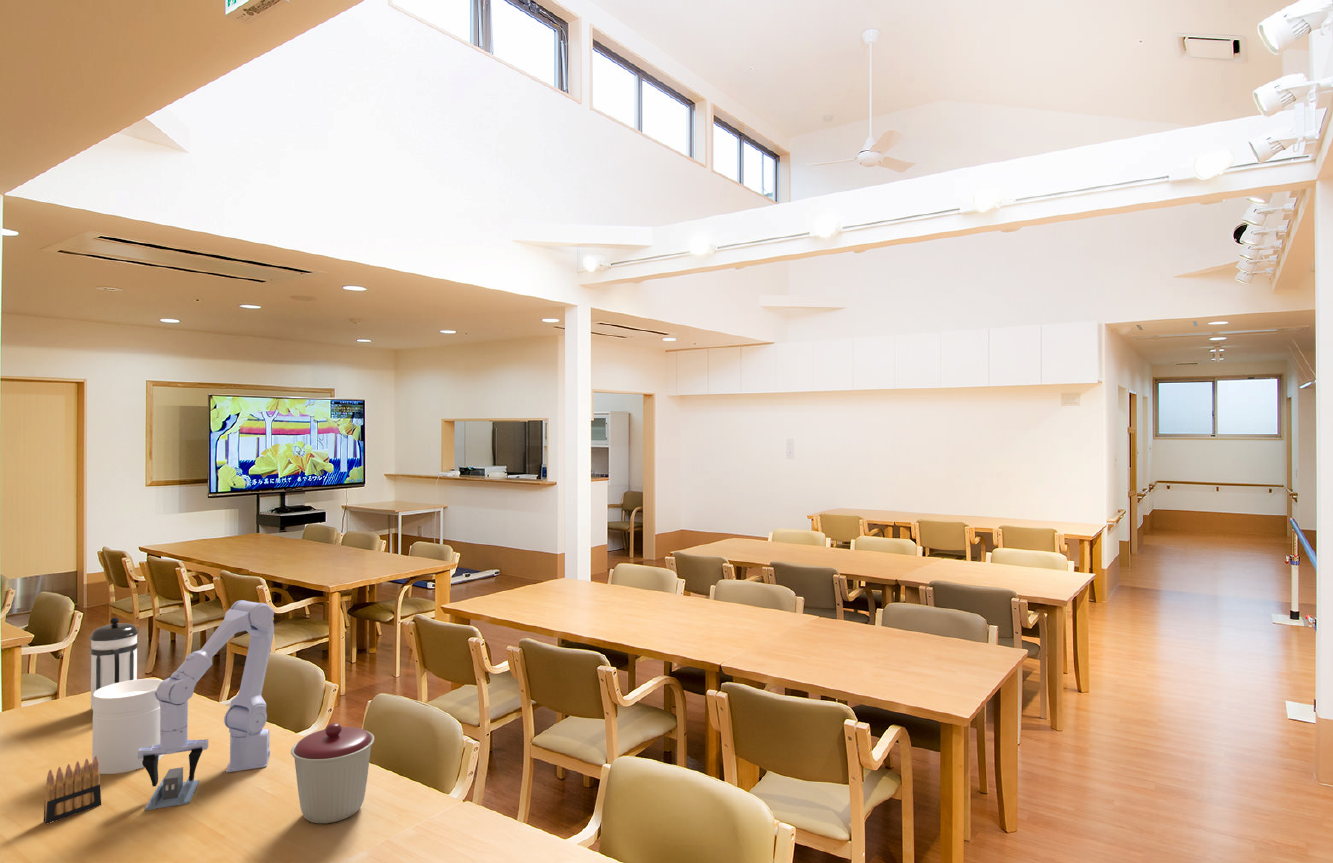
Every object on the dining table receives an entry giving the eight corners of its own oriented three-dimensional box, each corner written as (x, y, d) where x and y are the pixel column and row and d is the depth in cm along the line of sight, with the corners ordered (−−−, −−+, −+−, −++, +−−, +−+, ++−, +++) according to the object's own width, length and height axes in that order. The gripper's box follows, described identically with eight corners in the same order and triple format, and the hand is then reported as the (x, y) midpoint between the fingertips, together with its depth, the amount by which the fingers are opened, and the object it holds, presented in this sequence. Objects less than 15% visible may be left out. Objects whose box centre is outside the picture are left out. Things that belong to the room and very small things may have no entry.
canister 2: (323, 841, 163) (324, 745, 163) (273, 820, 172) (274, 729, 172) (390, 805, 179) (390, 718, 179) (341, 788, 187) (341, 705, 188)
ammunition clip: (46, 824, 170) (46, 772, 170) (43, 822, 171) (43, 770, 171) (101, 805, 179) (101, 755, 179) (98, 803, 180) (98, 753, 180)
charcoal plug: (183, 787, 187) (183, 767, 187) (176, 799, 180) (177, 778, 180) (169, 789, 185) (169, 769, 185) (162, 801, 179) (162, 780, 179)
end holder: (199, 782, 190) (199, 772, 190) (189, 803, 179) (189, 792, 179) (158, 788, 187) (158, 778, 187) (145, 810, 176) (145, 799, 176)
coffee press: (69, 717, 234) (70, 622, 234) (114, 699, 250) (115, 611, 250) (116, 721, 231) (117, 625, 231) (159, 703, 247) (160, 613, 247)
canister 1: (94, 780, 192) (95, 703, 192) (90, 759, 204) (90, 687, 204) (168, 762, 202) (168, 689, 202) (159, 743, 214) (160, 675, 214)
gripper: (134, 737, 177) (134, 794, 177) (204, 728, 182) (204, 783, 182) (142, 727, 183) (142, 782, 183) (210, 718, 189) (209, 771, 189)
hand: (173, 782), depth 183 cm, fingers open, 7 cm apart
